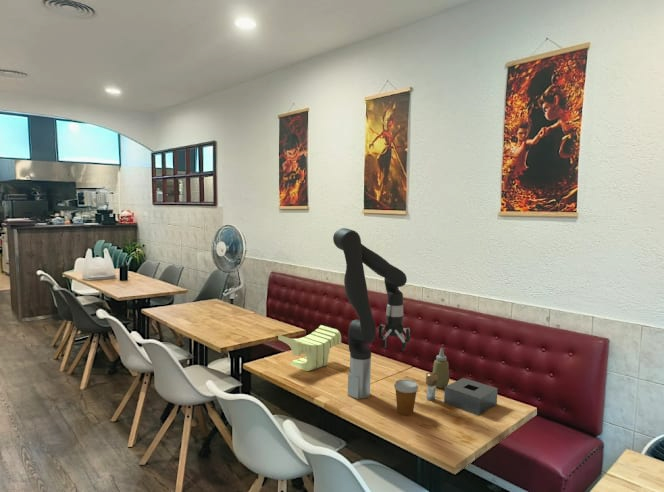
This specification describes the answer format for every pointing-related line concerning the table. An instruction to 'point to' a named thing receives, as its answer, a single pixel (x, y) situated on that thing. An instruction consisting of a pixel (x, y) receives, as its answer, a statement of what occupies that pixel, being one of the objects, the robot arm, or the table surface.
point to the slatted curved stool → (313, 347)
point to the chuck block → (471, 396)
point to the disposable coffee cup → (405, 396)
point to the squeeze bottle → (441, 370)
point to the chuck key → (431, 385)
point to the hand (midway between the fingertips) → (394, 348)
